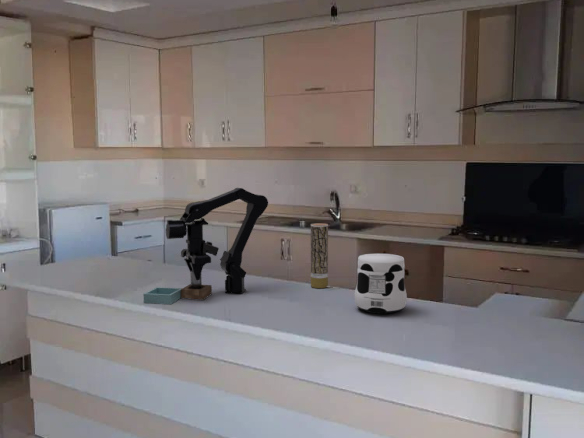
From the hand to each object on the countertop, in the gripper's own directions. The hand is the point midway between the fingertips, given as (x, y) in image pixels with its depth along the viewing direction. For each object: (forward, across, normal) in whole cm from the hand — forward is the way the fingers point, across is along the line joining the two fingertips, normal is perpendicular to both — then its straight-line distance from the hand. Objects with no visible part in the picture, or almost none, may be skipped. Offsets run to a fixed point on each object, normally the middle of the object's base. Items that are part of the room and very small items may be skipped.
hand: (196, 278), depth 210 cm
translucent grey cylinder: (+5, 0, 0) cm, 5 cm away
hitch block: (+7, 0, 0) cm, 7 cm away
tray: (+7, 0, +12) cm, 14 cm away
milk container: (+7, -46, -50) cm, 68 cm away
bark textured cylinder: (+7, -7, -48) cm, 49 cm away
